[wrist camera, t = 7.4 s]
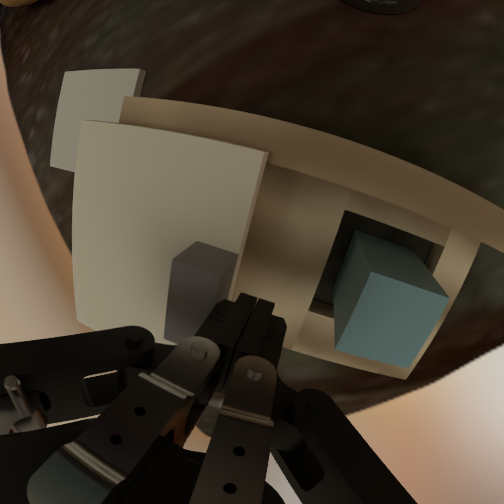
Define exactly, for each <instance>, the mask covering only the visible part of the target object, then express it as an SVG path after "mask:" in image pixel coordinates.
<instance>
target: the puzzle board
mask: <svg viewBox="0 0 504 504" xmlns="http://www.w3.org/2000/svg"><path fill="white" fill-rule="evenodd" d="M119 123H122V124H130V125H137V126H144V127H151V128H157V129H164V130H169V131H175V132H181V133H186V134H191V135H197V136H202V137H207V138H211V139H216V140H221V141H225V142H230V143H234V144H238V145H243V146H247V147H251V148H255V149H259V150H263V151H267V152H269V153H268V157H267V161H266V165H265V168H264V172H263V176H262V180H261V184H260V188H259V192H258V196H257V200H256V204H255V207H254V211H253V215H252V219H251V223H250V227H249V231H248V235H247V239H246V243H245V247H244V251H243V255H242V259H241V263H240V267H239V271H238V275H237V279H236V283H235V287H234V291H233V295H232V299H231V301H233V302H235V301H236V300H237V298H238V296H239V295H240V293H241V292H243V293H246V294H249V295H252V296H255V297H258V299H259V298H261V299H264V300H267V301H270V302H274V303H275V306H274V309H273V312H272V315H275V316H278V317H282V318H284V320H285V322H286V325H287V330H286V334H285V338H284V342H283V346H282V347H284V348H287V349H290V350H294V351H297V352H300V353H304V354H307V355H310V356H314V357H317V358H321V359H324V360H328V361H331V362H335V363H339V364H343V365H346V366H350V367H354V368H358V369H362V370H366V371H370V372H374V373H378V374H383V375H387V376H392V377H396V378H401V379H405V380H406V379H407V377H408V376H409V374H410V373H411V371H412V370H413V369H414V367H415V366H416V364H417V363H418V361H419V360H420V358H421V357H422V355H423V354H424V352H425V350H426V349H427V347H428V346H429V344H430V343H431V341H432V339H433V338H434V336H435V334H436V333H437V331H438V329H439V328H440V326H441V324H442V322H443V321H444V319H445V317H446V315H447V313H448V312H449V310H450V308H451V306H452V304H453V302H454V300H455V298H456V296H457V294H458V292H459V290H460V288H461V286H462V284H463V282H464V280H465V278H466V276H467V274H468V271H469V269H470V267H471V265H472V262H473V260H474V258H475V255H476V253H477V251H478V248H479V246H480V243H481V242H483V243H485V244H487V245H489V246H491V247H493V248H495V249H497V250H499V251H501V252H503V253H504V210H503V209H501V208H500V207H498V206H496V205H494V204H493V203H491V202H489V201H487V200H486V199H484V198H482V197H480V196H478V195H476V194H475V193H473V192H471V191H469V190H467V189H465V188H463V187H461V186H459V185H457V184H455V183H453V182H451V181H449V180H447V179H445V178H443V177H440V176H438V175H436V174H434V173H432V172H430V171H427V170H425V169H423V168H420V167H418V166H416V165H413V164H411V163H409V162H406V161H404V160H401V159H399V158H396V157H394V156H391V155H389V154H386V153H384V152H381V151H378V150H376V149H373V148H370V147H367V146H365V145H362V144H359V143H356V142H353V141H350V140H347V139H344V138H341V137H338V136H335V135H331V134H328V133H325V132H321V131H318V130H315V129H311V128H308V127H304V126H300V125H297V124H293V123H289V122H285V121H281V120H277V119H273V118H269V117H264V116H260V115H255V114H251V113H246V112H241V111H236V110H231V109H225V108H220V107H214V106H208V105H202V104H195V103H188V102H180V101H172V100H164V99H154V98H143V97H130V96H124V99H123V104H122V109H121V114H120V119H119ZM344 210H348V211H351V212H354V213H357V214H359V215H362V216H365V217H368V218H371V219H374V220H376V221H379V222H382V223H385V224H387V225H390V226H393V227H396V228H398V229H401V230H403V231H406V232H409V233H411V234H414V235H416V236H419V237H422V238H424V239H427V240H429V241H432V242H434V244H433V247H432V249H431V252H430V254H429V256H428V259H427V261H426V263H425V266H426V267H427V268H428V270H429V271H430V272H431V274H432V275H433V276H434V278H435V279H436V280H437V282H438V283H439V284H440V286H441V287H442V288H443V290H444V291H445V292H446V294H447V295H448V297H449V298H450V299H449V301H448V303H447V305H446V307H445V309H444V311H443V313H442V314H441V316H440V318H439V320H438V322H437V323H436V325H435V327H434V328H433V330H432V332H431V334H430V335H429V337H428V339H427V340H426V342H425V343H424V345H423V347H422V348H421V350H420V351H419V353H418V355H417V356H416V358H415V359H414V361H413V362H412V364H411V365H410V367H409V368H404V367H400V366H395V365H391V364H387V363H383V362H379V361H375V360H371V359H367V358H364V357H360V356H356V355H352V354H349V353H345V352H341V351H338V350H334V306H332V305H329V304H326V303H322V302H319V301H316V300H313V296H314V294H315V291H316V289H317V286H318V283H319V281H320V278H321V276H322V273H323V270H324V267H325V265H326V262H327V259H328V257H329V254H330V251H331V248H332V245H333V242H334V240H335V237H336V234H337V231H338V228H339V225H340V222H341V219H342V216H343V213H344ZM258 299H257V301H258Z"/></svg>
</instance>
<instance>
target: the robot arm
mask: <svg viewBox="0 0 504 504" xmlns="http://www.w3.org/2000/svg"><path fill="white" fill-rule="evenodd" d="M342 1H344V2H346V3H347V4H349V5H351V6H354V7H357V8H359V9H362V10H365V11H370V12H374V13H381V14H400V13H404V12H408V11H411V10H412V9H414V8H416V7H417V6H418V5H419V4H420V3H421V2H422V1H423V0H342ZM257 299H258V297H255V296H252V295H249V294H246V293H243V292H241V293H240V295H239V296H238V298H237V300H236V301H235V302H233V301H230V300H227V299H224V300H222V301H220V302H218V303H216V305H215V306H214V308H213V309H212V311H211V312H210V313H209V315H208V317H207V318H206V319H205V321H204V322H203V324H202V325H201V326H200V328H199V329H198V331H197V332H196V334H195V335H194V336H193V337H188V338H185V339H183V340H182V341H181V342H180V343H179V344H178V345H167V344H162V343H156V342H155V338H154V336H153V334H152V333H151V332H150V331H149V330H147V329H146V328H143V327H140V326H134V325H131V326H124V327H118V328H112V329H106V330H100V331H94V332H88V333H81V334H75V335H68V336H61V337H55V338H47V339H39V340H31V341H24V342H15V343H7V344H0V504H285V503H284V501H283V499H282V498H281V496H280V495H279V494H278V492H277V491H276V490H275V489H274V488H273V487H272V486H271V485H269V484H268V483H267V482H266V481H265V479H266V473H267V467H268V460H269V455H270V452H271V453H272V455H273V457H274V459H275V460H276V462H277V464H278V465H279V467H280V468H281V470H282V472H283V474H284V475H285V477H286V479H287V480H288V482H289V483H290V485H291V487H292V488H293V490H294V491H295V493H296V494H297V496H298V497H299V499H300V501H301V502H302V504H417V503H416V501H415V500H414V499H413V498H412V497H411V495H410V494H409V493H408V492H407V491H406V490H405V488H404V487H403V486H402V485H401V484H400V482H399V481H398V480H397V479H396V478H395V476H394V475H393V474H392V473H391V472H390V470H389V469H388V468H387V467H386V466H385V464H384V463H383V462H382V461H381V460H380V458H379V457H378V456H377V455H376V453H375V452H374V451H373V450H372V449H371V447H370V446H369V445H368V444H367V442H366V441H365V440H364V439H363V437H362V436H361V435H360V434H359V432H358V431H357V430H356V429H355V428H354V426H353V425H352V424H351V422H350V421H349V420H348V419H347V417H346V416H345V415H344V414H343V412H342V411H341V410H340V409H339V407H338V406H337V405H336V404H335V402H334V401H333V400H332V399H331V397H330V396H328V395H327V394H326V393H324V392H322V391H320V390H317V389H303V390H301V391H299V392H297V391H295V390H293V389H291V388H290V387H288V386H287V385H285V384H284V383H283V382H282V381H281V379H280V378H279V376H278V373H277V366H278V362H279V358H280V354H281V350H282V346H283V342H284V338H285V334H286V330H287V325H286V322H285V320H284V318H282V317H278V316H275V315H272V312H273V309H274V306H275V303H274V302H270V301H267V300H264V299H261V298H259V299H258V301H257ZM113 370H117V372H115V373H110V374H105V375H100V376H95V377H90V378H85V379H84V377H86V376H89V375H93V374H99V373H104V372H109V371H113ZM224 386H225V388H224ZM223 388H224V392H223V394H226V395H225V398H224V401H223V404H222V407H221V409H220V412H219V415H218V418H217V422H216V425H215V428H214V431H213V434H212V437H211V440H210V443H209V446H208V449H207V452H206V453H202V452H195V451H190V450H186V449H183V446H184V444H185V442H186V440H187V438H188V437H189V435H190V434H191V432H192V430H193V429H194V427H195V426H196V424H197V422H198V421H199V419H200V418H201V416H202V414H203V413H204V411H205V410H206V408H207V406H208V403H209V401H210V400H211V398H212V396H213V394H214V392H215V391H217V392H220V393H221V392H222V390H223ZM99 414H100V415H99ZM94 415H99V416H98V417H97V418H91V419H85V420H80V421H76V422H72V423H67V424H63V425H58V426H53V427H48V428H46V427H47V424H52V423H57V422H63V421H69V420H74V419H79V418H85V417H89V416H94Z"/></svg>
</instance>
